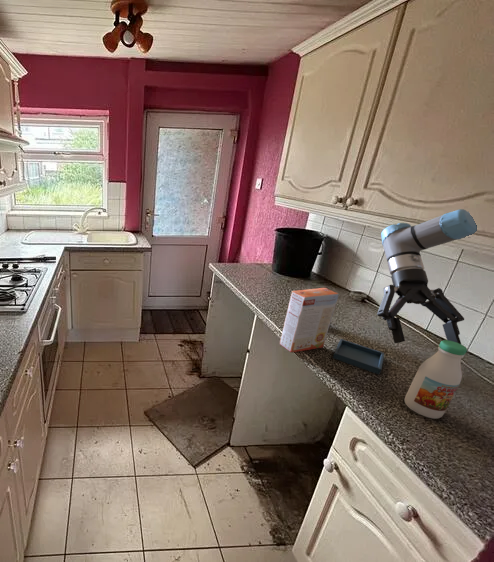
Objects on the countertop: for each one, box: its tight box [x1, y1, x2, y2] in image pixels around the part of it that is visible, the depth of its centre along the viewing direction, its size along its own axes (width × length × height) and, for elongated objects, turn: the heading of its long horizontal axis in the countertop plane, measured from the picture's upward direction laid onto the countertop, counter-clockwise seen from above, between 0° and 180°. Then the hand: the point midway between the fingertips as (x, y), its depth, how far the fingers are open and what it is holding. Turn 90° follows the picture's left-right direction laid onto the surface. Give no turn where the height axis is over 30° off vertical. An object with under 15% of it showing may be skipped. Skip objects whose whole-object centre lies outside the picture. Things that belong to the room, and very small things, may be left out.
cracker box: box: [279, 287, 340, 353], centre depth 106 cm, size 14×6×21 cm, turn 105°
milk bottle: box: [404, 339, 468, 420], centre depth 79 cm, size 8×8×20 cm
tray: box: [332, 338, 385, 376], centre depth 104 cm, size 12×12×2 cm
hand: (427, 344), depth 83 cm, fingers open, 13 cm apart
